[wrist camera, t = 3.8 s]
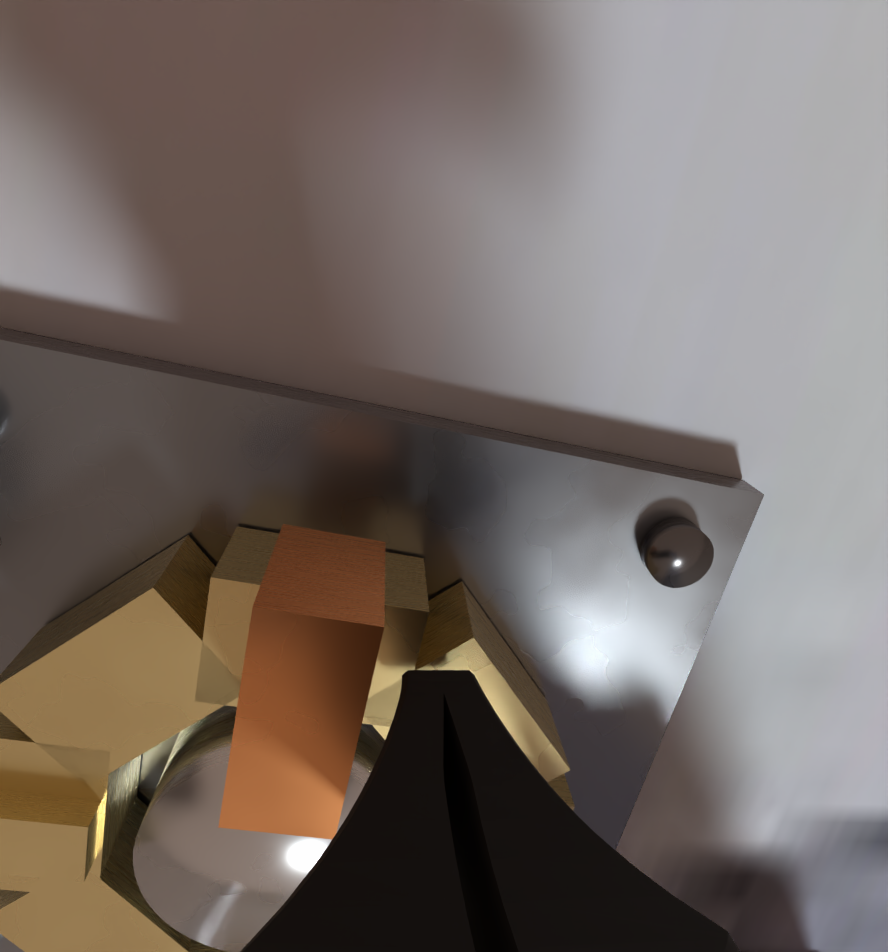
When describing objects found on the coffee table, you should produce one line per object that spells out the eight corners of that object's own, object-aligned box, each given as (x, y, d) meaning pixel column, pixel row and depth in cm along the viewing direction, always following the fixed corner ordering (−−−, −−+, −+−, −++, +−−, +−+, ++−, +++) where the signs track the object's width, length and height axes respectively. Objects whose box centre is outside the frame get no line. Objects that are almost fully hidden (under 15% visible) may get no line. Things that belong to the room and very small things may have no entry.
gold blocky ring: (620, 539, 16) (726, 680, 11) (472, 960, 21) (499, 1193, 16) (25, 429, 14) (-180, 539, 9) (13, 924, 19) (-125, 1177, 14)
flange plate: (743, 480, 17) (860, 561, 13) (534, 997, 23) (566, 1165, 19) (-107, 305, 14) (-320, 336, 10) (-80, 953, 20) (-202, 1140, 16)
